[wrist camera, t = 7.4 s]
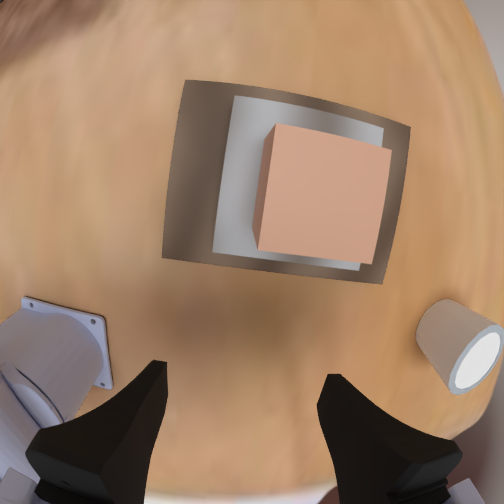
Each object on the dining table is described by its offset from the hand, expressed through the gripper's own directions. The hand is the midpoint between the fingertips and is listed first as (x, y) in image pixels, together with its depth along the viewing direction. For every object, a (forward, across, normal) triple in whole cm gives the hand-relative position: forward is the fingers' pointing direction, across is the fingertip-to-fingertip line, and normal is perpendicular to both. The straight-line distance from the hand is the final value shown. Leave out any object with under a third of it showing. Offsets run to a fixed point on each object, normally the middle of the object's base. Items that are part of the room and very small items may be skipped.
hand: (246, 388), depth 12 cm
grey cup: (+10, -19, +2) cm, 22 cm away
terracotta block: (+6, -2, -8) cm, 11 cm away
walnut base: (+10, -2, -9) cm, 13 cm away
